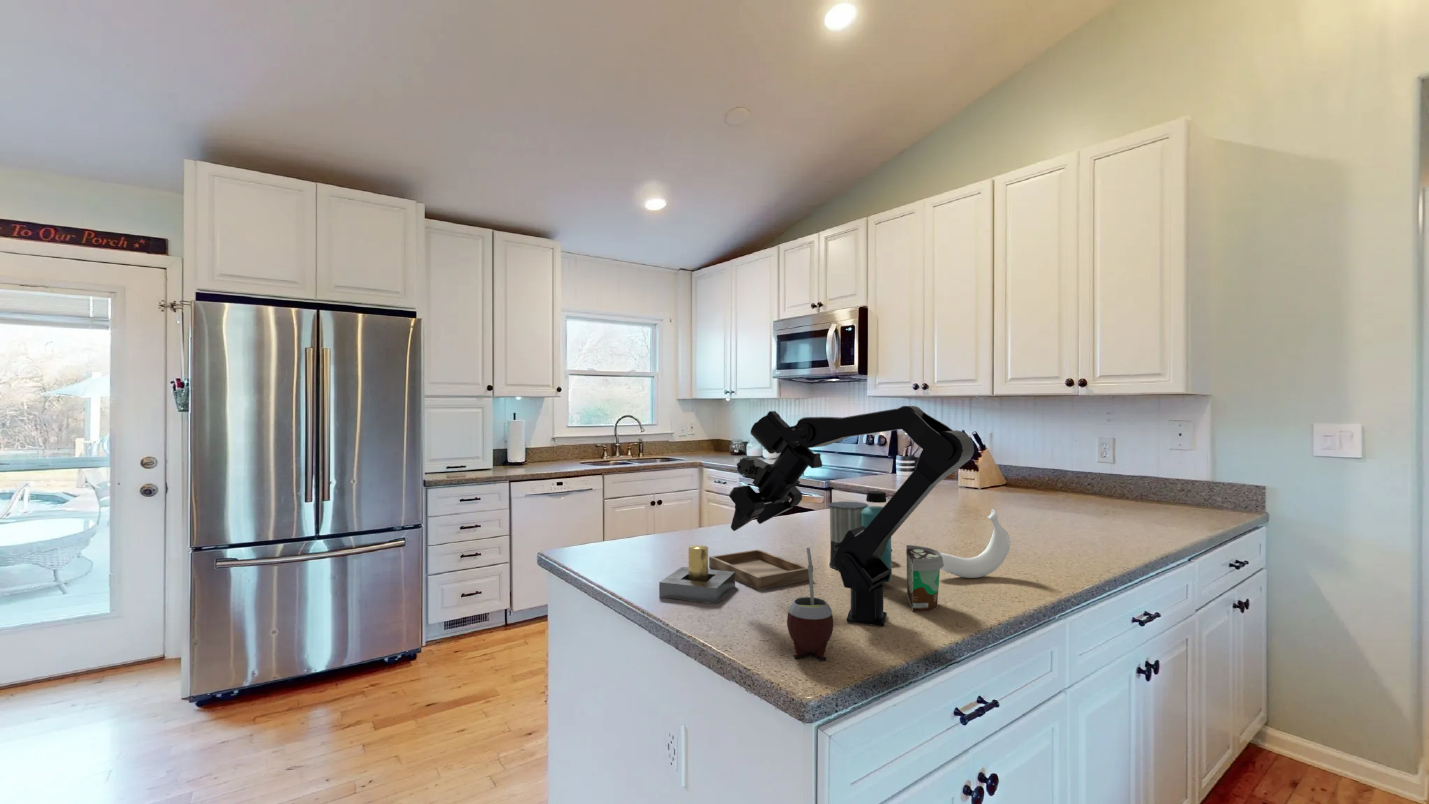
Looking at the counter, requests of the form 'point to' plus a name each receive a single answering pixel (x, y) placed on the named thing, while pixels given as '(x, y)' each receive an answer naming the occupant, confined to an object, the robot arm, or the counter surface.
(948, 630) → the counter surface
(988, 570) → the banana
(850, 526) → the milk frother
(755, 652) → the counter surface
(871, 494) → the beverage bottle
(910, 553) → the food container
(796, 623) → the mate gourd
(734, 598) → the counter surface
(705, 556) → the brass pin
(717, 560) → the walnut tray
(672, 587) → the grey square socket block
